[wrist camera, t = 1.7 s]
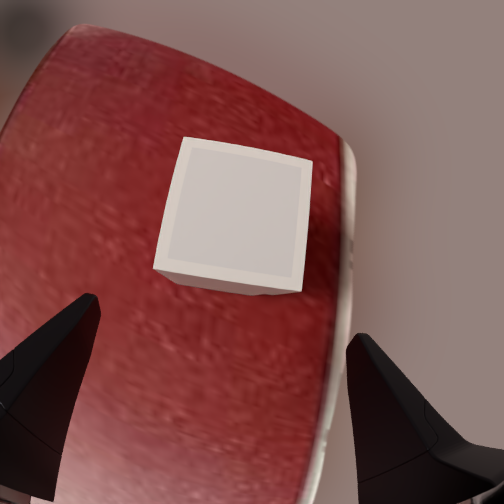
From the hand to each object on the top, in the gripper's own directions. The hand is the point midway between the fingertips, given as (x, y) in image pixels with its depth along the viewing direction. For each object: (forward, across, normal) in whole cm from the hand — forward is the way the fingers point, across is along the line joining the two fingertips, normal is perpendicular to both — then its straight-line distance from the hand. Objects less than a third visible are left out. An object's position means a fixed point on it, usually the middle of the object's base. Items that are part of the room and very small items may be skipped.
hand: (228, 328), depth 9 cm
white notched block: (+11, 0, +5) cm, 12 cm away
